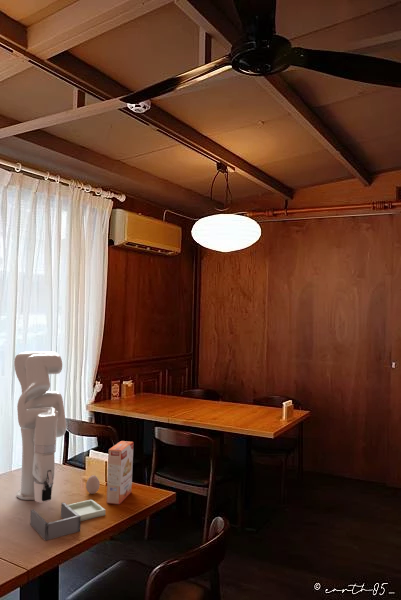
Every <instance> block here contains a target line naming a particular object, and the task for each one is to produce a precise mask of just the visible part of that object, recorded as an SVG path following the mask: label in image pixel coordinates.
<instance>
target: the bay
mask: <svg viewBox="0 0 401 600" xmlns="http://www.w3.org/2000/svg"><path fill="white" fill-rule="evenodd" d="M68 505H69V504H66V502H64V501H63V502H61V507H60V510H61V511H60V518H62V519H59V520H53V521H50V522H47V521H46V520H45V519H44V518H43V516H41V514H39V512H37V511H36V510H35V509H33V508H32V509H30V522H29V524H30V526H31V527H32V528H33V529H34V530H35V531H36V532H37V534H38V535H39V536H40V537H41V538H42V539H43V540H44V541H49V540H51V539H52V540H53V539H56V538H60V537H64V536H67V535H72V534H74V533H79V532H81V522H82V521H81V516H80V515H79V514H77V513H76V512H75V511H74V510H73V509H71V508H70V507H69V506H68Z"/></svg>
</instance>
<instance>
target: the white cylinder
mask: <svg viewBox="0 0 401 600" xmlns="http://www.w3.org/2000/svg"><path fill="white" fill-rule="evenodd" d="M54 479H55V478H54ZM54 479H53V481H54ZM47 480H48V479H46V480H45V481H47ZM45 484H46V485H47V484H48V482H46V483H45ZM53 485H54V484H53ZM53 485H52V488H53ZM42 490H43V483H40V482H39V481H38V480H37V479H35V480H34V494H35V500H34V501H35V502H37V503H47V502H49V501H50V500H52V498H51V499H50V500H46V501H42ZM52 493H53V490H52V491H51V496H52ZM50 502H51V501H50Z"/></svg>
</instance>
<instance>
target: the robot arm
mask: <svg viewBox="0 0 401 600" xmlns="http://www.w3.org/2000/svg"><path fill="white" fill-rule="evenodd" d="M15 355H16V356H15V357H14V372H15V374H16V378H17V380H18V382H19V384H20V386H21V387H20V389H21V395H20V396H19V397H18V400H17V411H16V412H17V421H18V426H19V427H20V434H21V443H22V444H21V446H22V448H21V449H22V450H21V454H22V455H21V457H22V458H21V482H20V483H21V484H20V485H21V486H20V487H21V488H20V490H18V491H17V492H16V497H17V498H18V499H20V500H22V501H23V500H24V501H35V494H34V480H35V479H37V480H38V481H39V482H40V483H43V490H42V501H46V500H50V499H51V500H52V495H51V491H52V492H53V487H52V485H54V480H53V479H55V466H56V465H55V464H56V463H55V453H56V451H57V438H60V437H64V435H65V434H66V431H67V422H66V421H67V420H66V414H65V406H64V405H65V404H64V399H63V396H62V394H61V392H59V391H58V390H57V391H56V390H50V387H51V381H50V376H49V375H58V374H59V375H60V373H61V372H62V371H63V370H62V369H63V359H62V356H61V355H60V354H59V353H58V352H56V351H52V350H49V351H48V350H46V351H38V350H37V351H35V350H34V351H24V352H23V351H22V352H20V353H17V354H15ZM46 479H48V480H47V481H45V480H46ZM46 482H48V484H47V485H46V484H45V483H46Z"/></svg>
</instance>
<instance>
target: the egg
mask: <svg viewBox="0 0 401 600" xmlns="http://www.w3.org/2000/svg"><path fill="white" fill-rule="evenodd" d="M85 483H86V486H85V488H86V491H87V492H88V493H89V494H90V495H94V494H96V493H98V492H99V489H100V480H99V478H98V476H96V474H95V475H94V474H93V475H90V476H89V477H88V478H87V481H86V482H85Z"/></svg>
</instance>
